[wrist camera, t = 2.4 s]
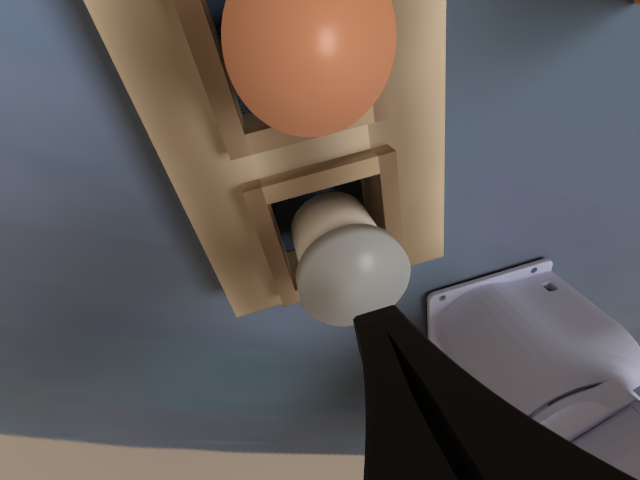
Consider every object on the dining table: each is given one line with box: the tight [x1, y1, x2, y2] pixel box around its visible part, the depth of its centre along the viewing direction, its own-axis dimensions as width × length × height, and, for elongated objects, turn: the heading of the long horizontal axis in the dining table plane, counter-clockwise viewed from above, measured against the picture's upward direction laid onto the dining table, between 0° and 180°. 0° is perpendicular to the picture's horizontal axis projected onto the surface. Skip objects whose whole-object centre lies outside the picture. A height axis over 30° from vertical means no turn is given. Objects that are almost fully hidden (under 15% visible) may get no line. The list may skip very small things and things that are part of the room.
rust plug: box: [221, 0, 396, 137], centre depth 10 cm, size 4×4×4 cm
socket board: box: [83, 0, 446, 317], centre depth 15 cm, size 12×16×4 cm
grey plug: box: [291, 191, 411, 326], centre depth 15 cm, size 4×4×4 cm
